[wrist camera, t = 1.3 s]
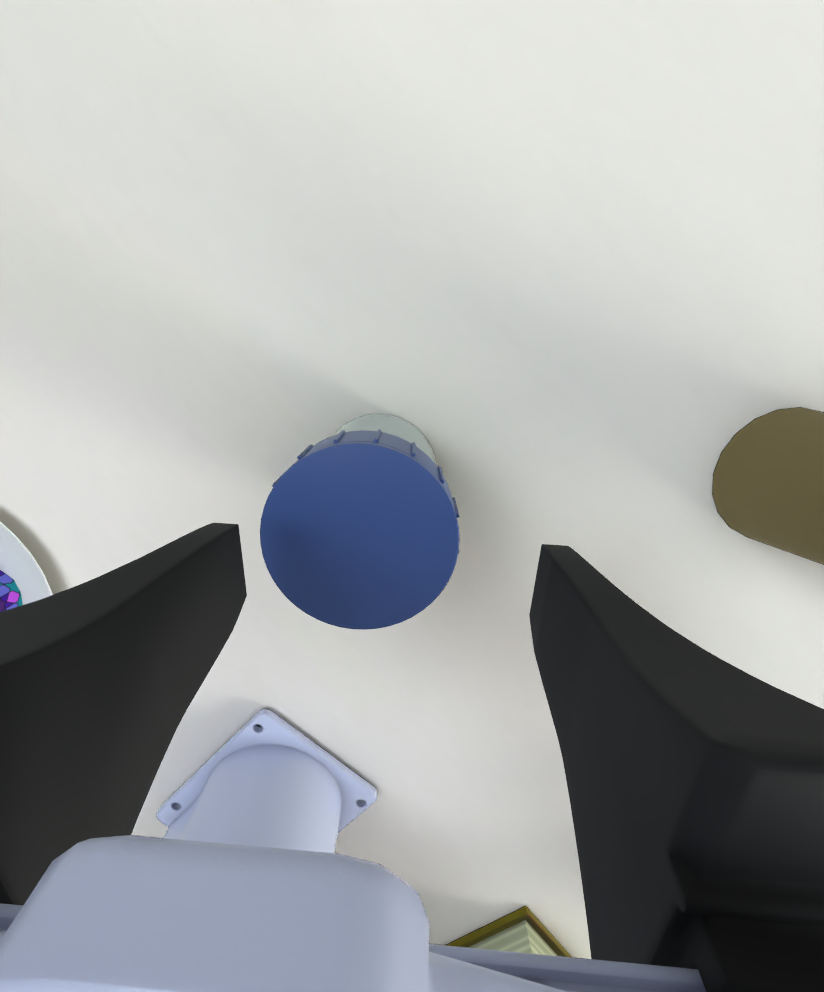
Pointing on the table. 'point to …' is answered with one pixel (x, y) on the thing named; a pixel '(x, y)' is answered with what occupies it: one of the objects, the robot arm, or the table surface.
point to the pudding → (19, 573)
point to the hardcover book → (514, 936)
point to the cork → (776, 481)
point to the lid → (361, 530)
